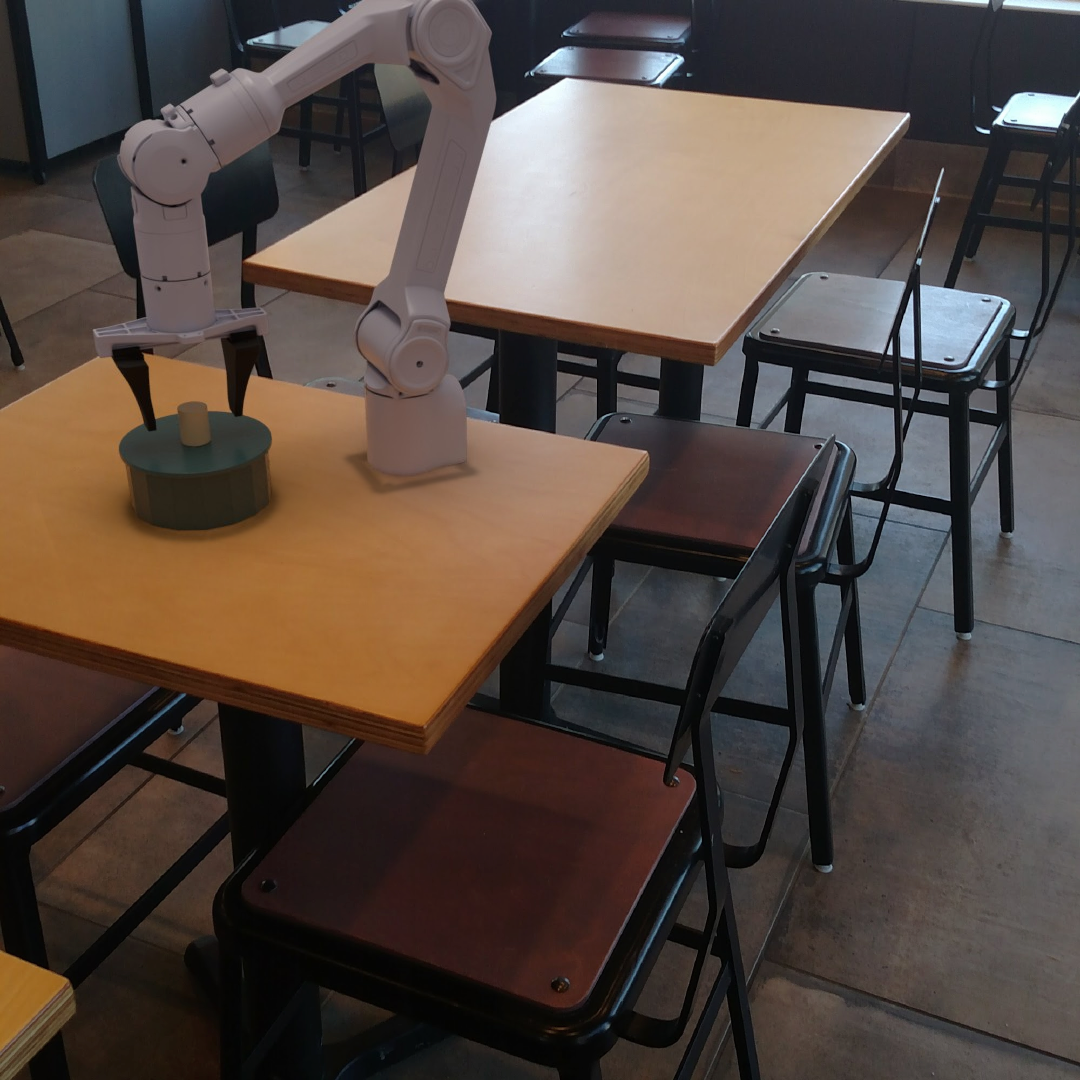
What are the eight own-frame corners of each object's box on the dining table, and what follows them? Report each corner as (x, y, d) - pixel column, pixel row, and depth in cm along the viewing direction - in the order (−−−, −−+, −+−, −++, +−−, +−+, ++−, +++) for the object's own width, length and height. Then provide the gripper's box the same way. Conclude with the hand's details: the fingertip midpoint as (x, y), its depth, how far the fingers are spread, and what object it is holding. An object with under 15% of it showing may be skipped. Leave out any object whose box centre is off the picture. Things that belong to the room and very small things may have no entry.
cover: (249, 412, 121) (245, 369, 119) (291, 467, 111) (288, 422, 109) (107, 435, 116) (100, 391, 114) (137, 496, 105) (130, 449, 103)
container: (250, 464, 123) (244, 409, 120) (288, 518, 114) (283, 460, 111) (121, 487, 118) (112, 430, 115) (149, 547, 109) (141, 486, 106)
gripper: (95, 296, 99) (119, 451, 106) (273, 274, 105) (285, 422, 112) (79, 271, 105) (103, 420, 111) (250, 251, 110) (263, 394, 117)
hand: (193, 419), depth 112 cm, fingers open, 7 cm apart
